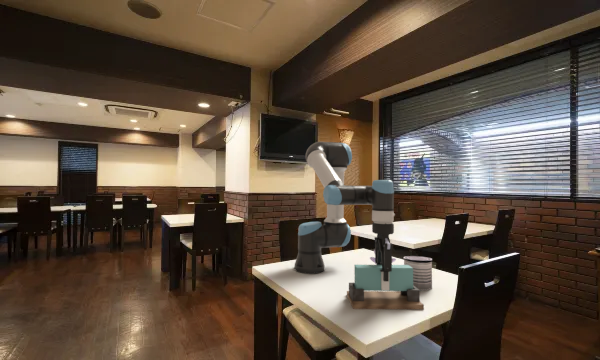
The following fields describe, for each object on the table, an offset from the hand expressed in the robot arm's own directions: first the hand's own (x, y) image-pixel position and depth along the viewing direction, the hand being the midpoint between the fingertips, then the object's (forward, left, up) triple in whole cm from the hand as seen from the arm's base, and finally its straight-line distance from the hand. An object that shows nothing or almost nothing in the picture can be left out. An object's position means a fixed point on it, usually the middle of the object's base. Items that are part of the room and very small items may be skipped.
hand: (383, 287), depth 98 cm
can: (+20, +17, -5) cm, 27 cm away
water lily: (+11, +35, -5) cm, 37 cm away
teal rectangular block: (0, 0, -1) cm, 1 cm away
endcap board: (0, 0, -5) cm, 5 cm away
